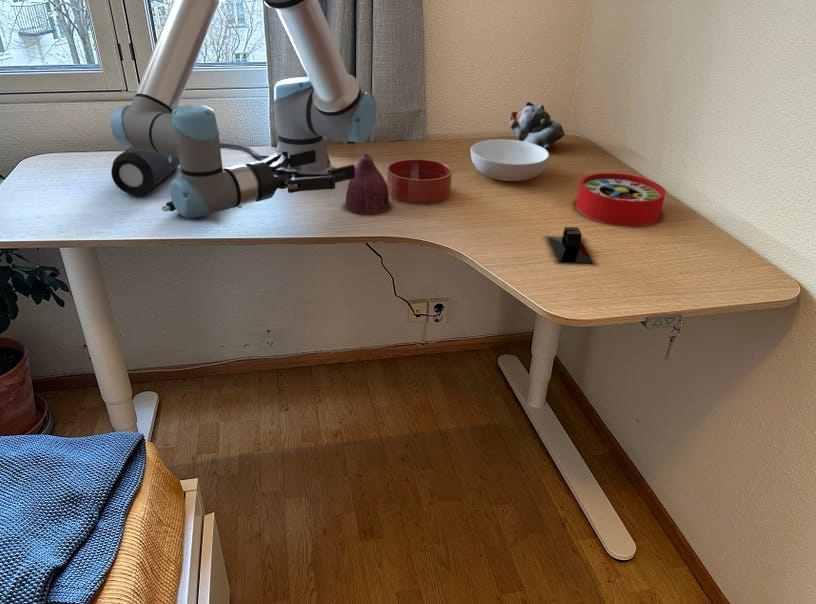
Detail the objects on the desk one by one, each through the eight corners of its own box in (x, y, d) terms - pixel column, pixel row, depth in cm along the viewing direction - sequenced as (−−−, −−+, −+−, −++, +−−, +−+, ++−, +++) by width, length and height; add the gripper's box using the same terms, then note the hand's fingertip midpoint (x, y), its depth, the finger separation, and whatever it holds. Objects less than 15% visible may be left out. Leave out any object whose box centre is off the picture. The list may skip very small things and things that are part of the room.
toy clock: (678, 186, 158) (644, 208, 145) (672, 210, 162) (638, 233, 149) (603, 167, 169) (565, 186, 156) (598, 189, 172) (561, 209, 159)
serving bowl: (458, 181, 173) (460, 155, 169) (482, 159, 189) (484, 135, 185) (535, 194, 167) (539, 167, 163) (553, 170, 183) (557, 146, 179)
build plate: (547, 238, 145) (551, 218, 142) (580, 239, 145) (584, 219, 142) (558, 262, 135) (562, 241, 132) (593, 263, 135) (598, 242, 132)
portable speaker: (153, 199, 155) (145, 157, 149) (112, 196, 155) (102, 154, 149) (192, 165, 176) (186, 127, 170) (156, 163, 176) (148, 124, 170)
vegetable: (381, 228, 154) (386, 173, 142) (339, 218, 154) (341, 162, 143) (393, 202, 160) (399, 148, 149) (352, 192, 161) (355, 138, 150)
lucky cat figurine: (534, 155, 194) (518, 109, 189) (513, 160, 205) (496, 117, 200) (573, 135, 198) (557, 89, 193) (549, 140, 209) (534, 97, 204)
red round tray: (373, 190, 165) (373, 167, 161) (418, 177, 174) (419, 155, 171) (417, 209, 156) (419, 185, 152) (463, 194, 165) (465, 171, 162)
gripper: (219, 184, 140) (300, 165, 153) (287, 220, 126) (371, 195, 138) (214, 149, 136) (298, 133, 148) (284, 181, 121) (371, 160, 134)
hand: (333, 163), depth 143 cm, fingers open, 13 cm apart
